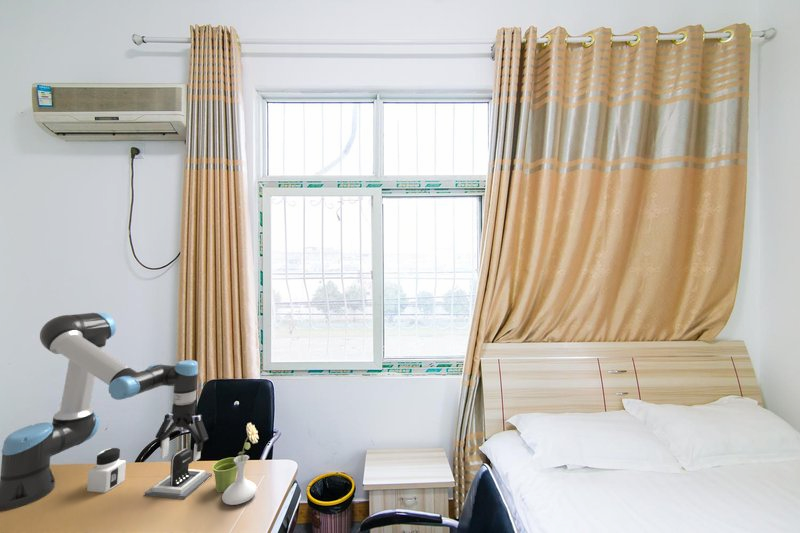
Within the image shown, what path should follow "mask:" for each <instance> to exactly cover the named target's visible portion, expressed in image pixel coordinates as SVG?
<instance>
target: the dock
mask: <svg viewBox="0 0 800 533" xmlns="http://www.w3.org/2000/svg"><path fill="white" fill-rule="evenodd" d="M188 472H189V479H187V480H186V481H185V482H183V483H182V484H180V485H179V486H175V487H173V486H170V474H169V475H167V476H166V477H164V478H162V479H161V480H160V481H159V482H157V483H156V484H154V485H153V486H152V487H149V489H148V490H146V491H144V496H147V497H160V498H168V499H169V498H170V499H179V500H181V499H182V500H185V499H187V498H188V497H189V496H191V494H192V493H193V492H195V491H197V489H199V488H200V487H201V486H202V485H203V484H204V483H206V482H207V481H208V480H209V479H210V478H212V477H213V473H210V472H206V470H204V469H194V468H188ZM209 477H210V478H209ZM208 478H209V479H208ZM207 479H208V480H207ZM206 480H207V481H206ZM205 481H206V482H205ZM203 482H204V483H203ZM202 483H203V484H202ZM201 484H202V485H201ZM200 485H201V486H200ZM199 486H200V487H199Z"/></svg>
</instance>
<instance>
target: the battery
mask: <svg viewBox="0 0 800 533" xmlns="http://www.w3.org/2000/svg"><path fill="white" fill-rule="evenodd" d="M192 462H193V450H192V449H191V448H183V449H182V448H181V450H179V451H177V452H176V453H174V454H173V455H172V457H171V459H170V474H169V475H170V486H173V487H175V486H179V485H180V484H182V483H183V482H185V481H186V480H187V479H189V472H188V469H189V464H191V463H192Z"/></svg>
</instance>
